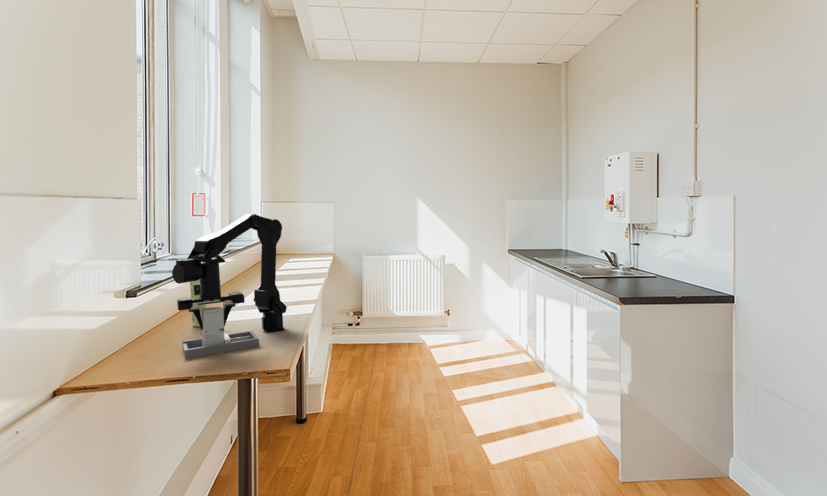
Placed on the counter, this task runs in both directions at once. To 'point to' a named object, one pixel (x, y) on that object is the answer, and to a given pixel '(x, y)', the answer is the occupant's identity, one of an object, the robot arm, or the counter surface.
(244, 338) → the pusher
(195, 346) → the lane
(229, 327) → the counter surface
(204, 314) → the skincare box
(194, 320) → the tube
